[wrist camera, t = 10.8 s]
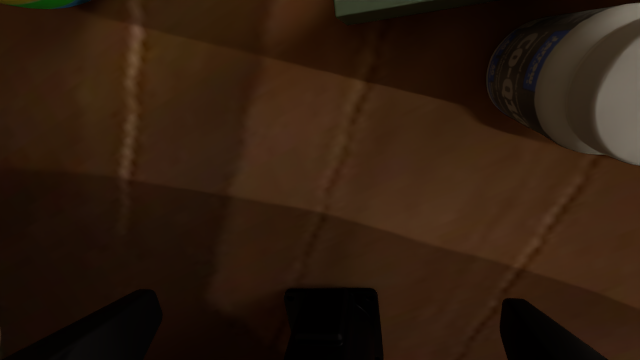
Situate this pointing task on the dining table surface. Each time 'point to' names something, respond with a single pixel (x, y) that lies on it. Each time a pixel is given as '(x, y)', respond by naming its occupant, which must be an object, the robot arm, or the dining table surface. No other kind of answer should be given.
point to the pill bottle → (574, 80)
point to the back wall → (391, 8)
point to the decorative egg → (44, 3)
